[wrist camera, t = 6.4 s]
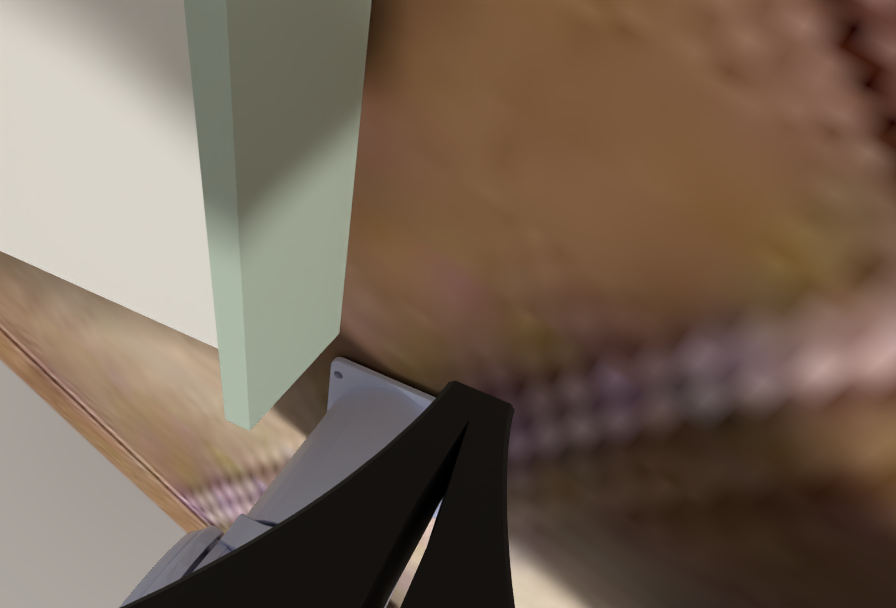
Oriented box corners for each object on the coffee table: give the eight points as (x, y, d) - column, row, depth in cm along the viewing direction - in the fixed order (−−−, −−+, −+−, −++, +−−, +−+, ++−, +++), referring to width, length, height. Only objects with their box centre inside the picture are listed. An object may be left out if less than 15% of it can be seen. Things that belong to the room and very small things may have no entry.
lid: (339, 333, 22) (249, 430, 17) (-4, 188, 25) (-158, 237, 21) (378, -67, 13) (221, -87, 9) (-150, -210, 17) (-472, -282, 12)
